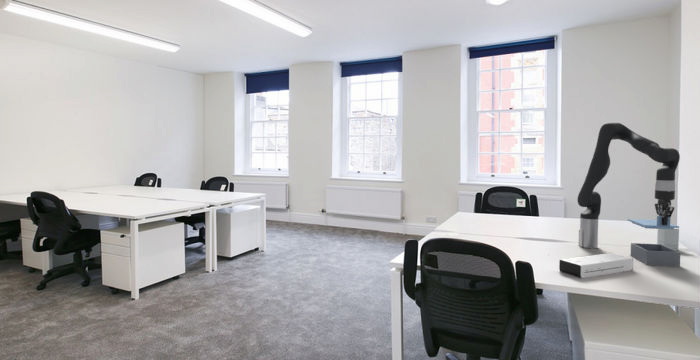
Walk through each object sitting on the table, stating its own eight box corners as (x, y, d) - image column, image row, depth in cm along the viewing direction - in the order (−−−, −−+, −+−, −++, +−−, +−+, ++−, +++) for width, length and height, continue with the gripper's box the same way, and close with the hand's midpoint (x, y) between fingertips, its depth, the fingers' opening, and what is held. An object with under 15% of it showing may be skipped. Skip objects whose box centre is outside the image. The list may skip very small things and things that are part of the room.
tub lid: (646, 229, 189) (647, 216, 188) (627, 222, 209) (628, 209, 209) (681, 230, 185) (682, 217, 185) (658, 223, 205) (659, 210, 205)
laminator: (580, 279, 173) (580, 265, 172) (557, 271, 184) (557, 258, 184) (632, 270, 184) (633, 258, 184) (608, 264, 195) (608, 252, 195)
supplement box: (678, 250, 219) (679, 228, 218) (663, 250, 221) (664, 228, 220) (670, 247, 226) (671, 226, 225) (656, 247, 228) (657, 226, 227)
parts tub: (646, 264, 192) (647, 251, 191) (630, 255, 209) (631, 243, 209) (679, 266, 188) (680, 252, 188) (660, 257, 206) (661, 244, 205)
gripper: (648, 188, 194) (647, 222, 195) (663, 190, 181) (661, 227, 182) (666, 188, 192) (664, 222, 193) (682, 191, 179) (680, 227, 180)
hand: (663, 224), depth 188 cm, fingers closed on tub lid, 1 cm apart
